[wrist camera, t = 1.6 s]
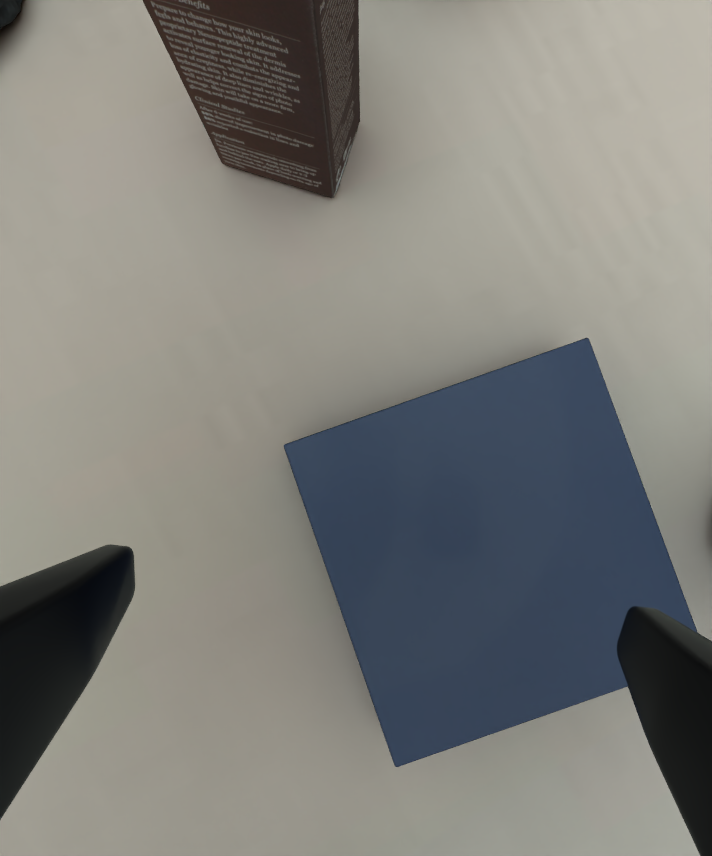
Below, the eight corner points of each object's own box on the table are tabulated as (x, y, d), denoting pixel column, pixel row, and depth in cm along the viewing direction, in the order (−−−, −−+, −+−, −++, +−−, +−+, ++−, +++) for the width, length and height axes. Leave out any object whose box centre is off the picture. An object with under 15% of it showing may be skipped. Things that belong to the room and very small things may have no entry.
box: (362, 115, 24) (363, -226, 12) (334, 202, 23) (304, -51, 11) (245, 78, 24) (125, -296, 12) (216, 164, 24) (64, -124, 12)
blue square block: (662, 630, 23) (708, 659, 20) (391, 725, 23) (395, 768, 20) (559, 350, 23) (589, 337, 20) (293, 444, 23) (283, 445, 20)
